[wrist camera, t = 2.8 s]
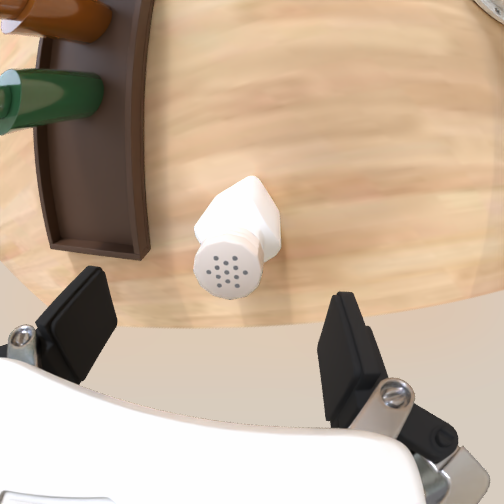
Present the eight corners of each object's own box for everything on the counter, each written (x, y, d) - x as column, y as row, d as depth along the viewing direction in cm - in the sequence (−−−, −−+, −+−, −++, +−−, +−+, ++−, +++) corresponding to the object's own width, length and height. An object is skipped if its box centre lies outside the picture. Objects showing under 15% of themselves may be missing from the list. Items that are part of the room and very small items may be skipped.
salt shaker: (211, 197, 21) (167, 257, 12) (255, 170, 19) (239, 214, 11) (239, 238, 22) (217, 317, 14) (283, 214, 21) (287, 286, 12)
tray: (59, 9, 12) (46, 5, 10) (159, -27, 11) (150, -36, 10) (62, 240, 24) (50, 249, 22) (150, 249, 23) (141, 260, 21)
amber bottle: (78, 12, 12) (-20, -8, 2) (116, -2, 12) (18, -42, 1) (71, 50, 14) (-37, 45, 4) (109, 37, 14) (-5, 14, 3)
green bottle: (68, 78, 15) (-44, 86, 5) (105, 67, 15) (-15, 60, 5) (67, 122, 17) (-45, 152, 7) (103, 115, 17) (-20, 140, 7)
